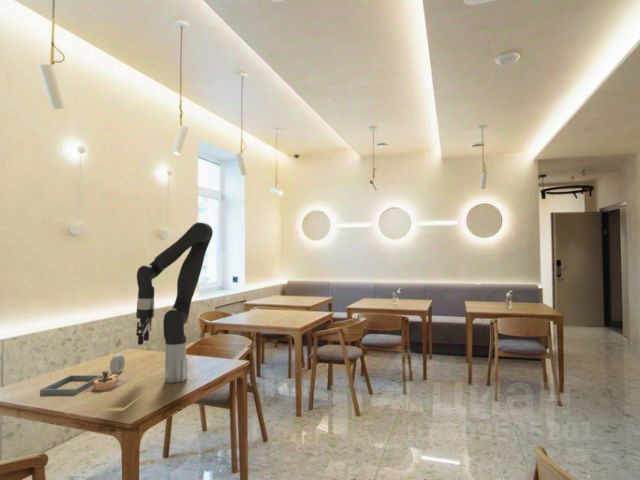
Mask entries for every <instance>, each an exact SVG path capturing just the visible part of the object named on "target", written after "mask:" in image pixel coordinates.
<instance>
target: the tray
mask: <svg viewBox="0 0 640 480" xmlns="http://www.w3.org/2000/svg"><path fill="white" fill-rule="evenodd" d="M100 378H103V374H98V375H96V374H93V375H92V374H89V375H88V374H85V375H83V374H82V375H78V374H74V375H73V374H70V375H68V376H65V377H64V378H62V379H60V380H57V381H55V382H53V383H51V384H49V385H47V386H45V387H43V388H40V390H39V397H40V398H41V397H42V396H44V395H45V396H47V395H49V396H51V395H59V396H60V395H67V396H68V395H71V396H72V395H73V396H74V395H78V394H79V393H81V392H84V391H85V390H87V389H89V388H91V387H92V386H93V381H95V380H97V379H100ZM73 381H88V382H86V383H84V384H82V385H80V386H78V387H76V388H61V387H63V386H65V385H67V384H70V383H71V382H73Z"/></svg>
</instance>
